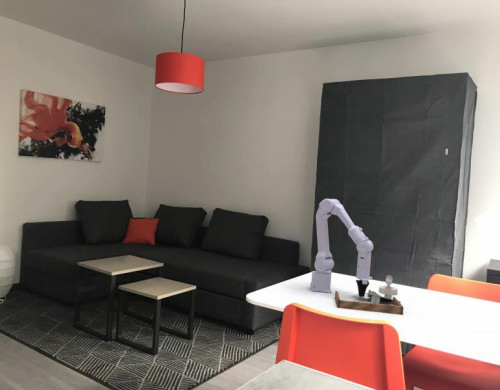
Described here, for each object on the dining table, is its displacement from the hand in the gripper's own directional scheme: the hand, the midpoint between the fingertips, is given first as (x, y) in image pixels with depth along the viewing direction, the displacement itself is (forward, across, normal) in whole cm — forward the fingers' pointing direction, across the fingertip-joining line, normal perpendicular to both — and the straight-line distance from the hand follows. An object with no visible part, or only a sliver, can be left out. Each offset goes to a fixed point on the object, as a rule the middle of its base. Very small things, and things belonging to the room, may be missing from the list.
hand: (361, 296), depth 189 cm
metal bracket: (+2, 0, -8) cm, 8 cm away
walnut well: (+1, -11, -1) cm, 11 cm away
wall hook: (+1, +17, -15) cm, 23 cm away
